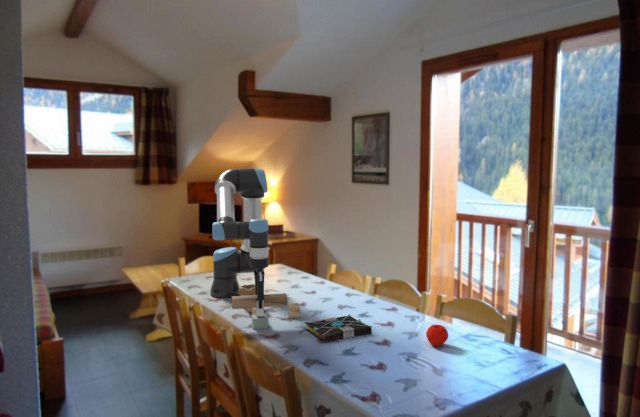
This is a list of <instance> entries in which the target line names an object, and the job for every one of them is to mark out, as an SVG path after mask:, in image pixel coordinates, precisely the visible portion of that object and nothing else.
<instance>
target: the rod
mask: <svg viewBox="0 0 640 417" xmlns="http://www.w3.org/2000/svg"><path fill="white" fill-rule="evenodd" d="M255 299H257V295H249V296H240V295H237V296H232V297H231V308H232V310H240V309H246V308H256V307H257V301H255ZM283 306H286V307H287V306H288V294H287V293H269V294H264V308H268V307H270V308H271V307H283Z"/></svg>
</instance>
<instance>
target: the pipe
mask: <svg viewBox="0 0 640 417" xmlns="http://www.w3.org/2000/svg"><path fill="white" fill-rule="evenodd" d="M249 295H255V284H252V283H251V284H248V285H247V284H243V285H239V296H249ZM245 309H246V311H247V312H249V313H251V314H252V308H245Z"/></svg>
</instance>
